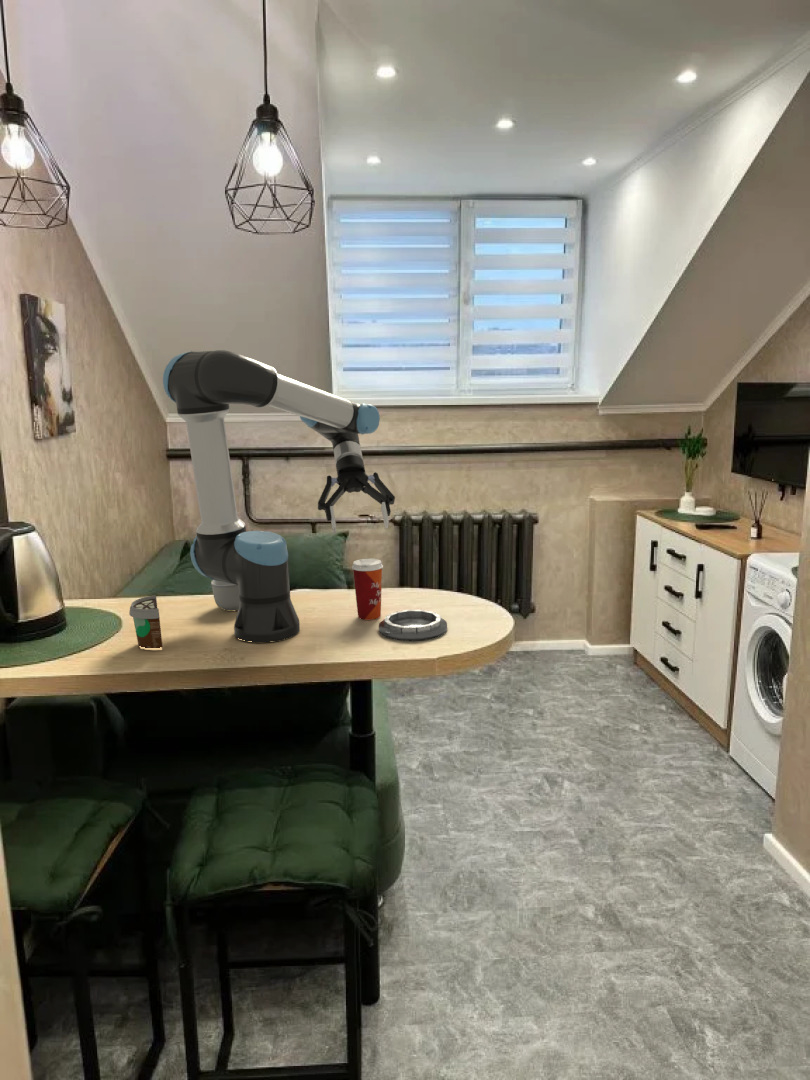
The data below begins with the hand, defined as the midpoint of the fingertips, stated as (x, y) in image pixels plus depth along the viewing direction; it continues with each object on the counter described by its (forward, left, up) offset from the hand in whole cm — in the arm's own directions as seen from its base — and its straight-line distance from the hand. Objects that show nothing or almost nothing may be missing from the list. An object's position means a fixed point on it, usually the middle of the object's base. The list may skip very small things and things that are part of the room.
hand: (361, 527), depth 192 cm
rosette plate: (+15, -19, -20) cm, 32 cm away
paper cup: (+3, -10, -20) cm, 23 cm away
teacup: (-34, -3, -20) cm, 40 cm away
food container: (-44, -33, -20) cm, 59 cm away
